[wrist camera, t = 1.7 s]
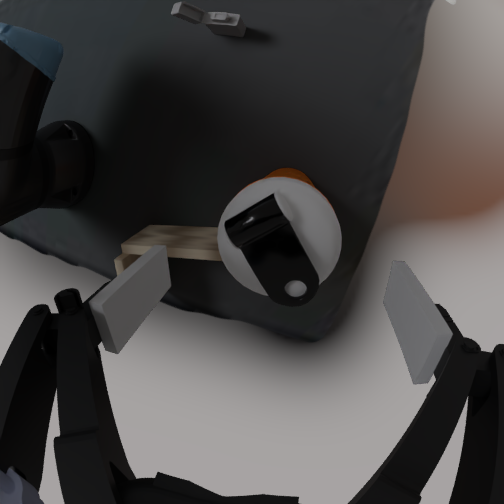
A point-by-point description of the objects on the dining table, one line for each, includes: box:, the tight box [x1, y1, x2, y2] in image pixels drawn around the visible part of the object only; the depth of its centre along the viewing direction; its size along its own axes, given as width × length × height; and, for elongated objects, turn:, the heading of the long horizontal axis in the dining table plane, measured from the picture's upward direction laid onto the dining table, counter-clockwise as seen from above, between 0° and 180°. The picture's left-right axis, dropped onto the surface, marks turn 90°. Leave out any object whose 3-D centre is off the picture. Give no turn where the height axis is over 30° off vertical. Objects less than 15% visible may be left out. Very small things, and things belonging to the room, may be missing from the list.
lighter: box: [171, 1, 246, 37], centre depth 24 cm, size 7×2×8 cm, turn 76°
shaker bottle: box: [217, 168, 342, 307], centre depth 26 cm, size 9×9×20 cm
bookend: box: [114, 225, 222, 276], centre depth 37 cm, size 14×10×10 cm
